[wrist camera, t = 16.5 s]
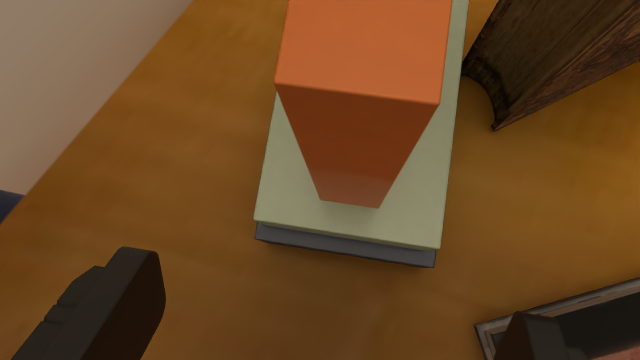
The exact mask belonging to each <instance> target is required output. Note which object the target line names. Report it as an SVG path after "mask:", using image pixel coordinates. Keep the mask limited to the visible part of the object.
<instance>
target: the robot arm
mask: <svg viewBox="0 0 640 360" xmlns="http://www.w3.org/2000/svg"><path fill="white" fill-rule="evenodd" d="M165 303H166V294H165V288H164V283H163V277H162V272H161V266H160V261H159V256H158V254H157V253H156V252H155V251H149V250H143V249H136V248H130V247H121V248H120V249H118V250H117V252H116V253H115V254H114V255H113V257H112V258H111V259H110V261H109V262H108V264H107V265H106V266H105V267H99V266H94V267H92V268H91V269H89V270H88V271H86V272H85V273H84V274H82V275H81V276H79V277H78V278H76V279H75V280H74V281H72V283H71V284H70V285H69V286H68V288H67V289H66V290H65V292H64V293H63V294H62V295H61V297H60V298H59V299H58V300H57V304H56V305H53V307H52V308H51V309H50V311H49V312H48V313H47V314H46V316H45V317H44V321H43V322H42V321H41V322H40V323H39V325H38V326H37V327H36V328H35V330H34V331H33V332H32V333H31V335H30V336H29V337H28V338H27V340H26V341H25V342H24V344H23V345H22V346H21V347H20V349H19V350H18V351H17V352H16V354H15V355H14V356H13V358H12V359H11V360H140V359H141V357H142V356H143V354H144V352H145V350H146V348H147V346H148V344H149V342H150V340H151V339H152V337H153V335H154V333H155V331H156V329H157V327H158V325H159V323H160V321H161V319H162V316H163V313H164V309H165ZM493 360H589V359H588V358H587V356H586V355H585V354H584V353H583V351H582V350H581V349H580V348H579V347H573V346H567V345H566V344H565V341H564V338H563V335H562V332H561V329H560V326H559V323H558V321H557V320H556V319H555V318H554V317H549V316H543V315H537V314H531V313H525V312H519V311H517V312H515V313H514V314H513V316H512V318H511V320H510V322H509V324H508V326H507V329H506V331H505V333H504V335H503V337H502V339H501V341H500V343H499V346H498V348H497V350H496V352H495V355H494V359H493Z"/></svg>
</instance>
